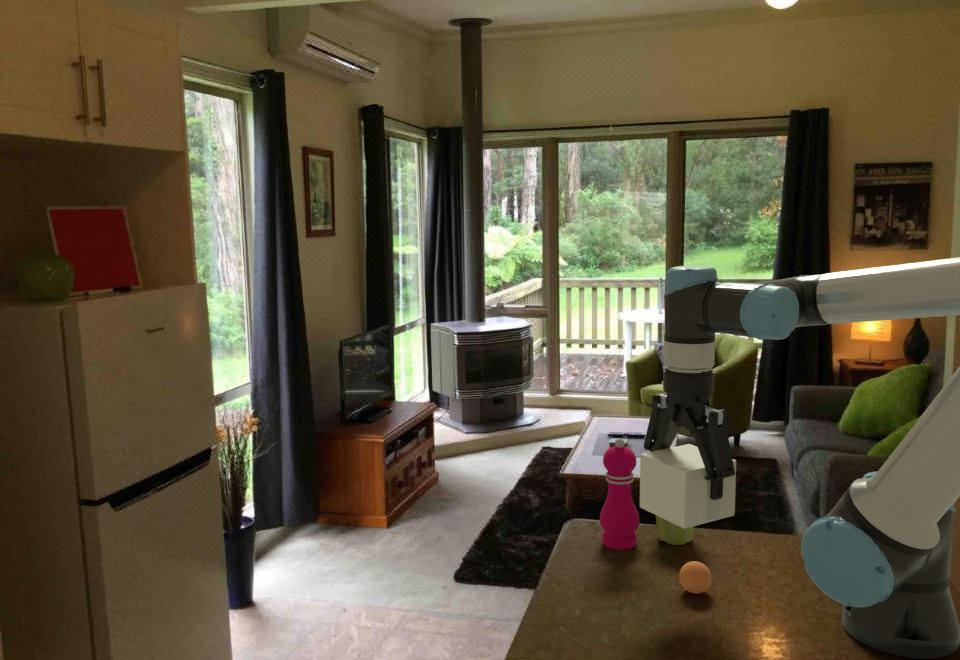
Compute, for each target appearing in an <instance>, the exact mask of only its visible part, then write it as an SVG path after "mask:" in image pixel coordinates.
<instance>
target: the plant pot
mask: <svg viewBox="0 0 960 660" xmlns="http://www.w3.org/2000/svg"><path fill="white" fill-rule="evenodd" d="M655 520H656V521H655V522H656V529H657V538H658V539H659V540H660V541H661V542H665V543H667V544H668V545H672V546H673V545H676V546H681V545H685V544H687V543H691V541H692V540H693V533H694V527H695V526H693V527H689V528H686V529H684V528H682V527H679V526H677V525H675V524H673V523H671V522H669V521H667V520H665V519H663V518H661V517H659V516H657V515H655Z"/></svg>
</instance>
